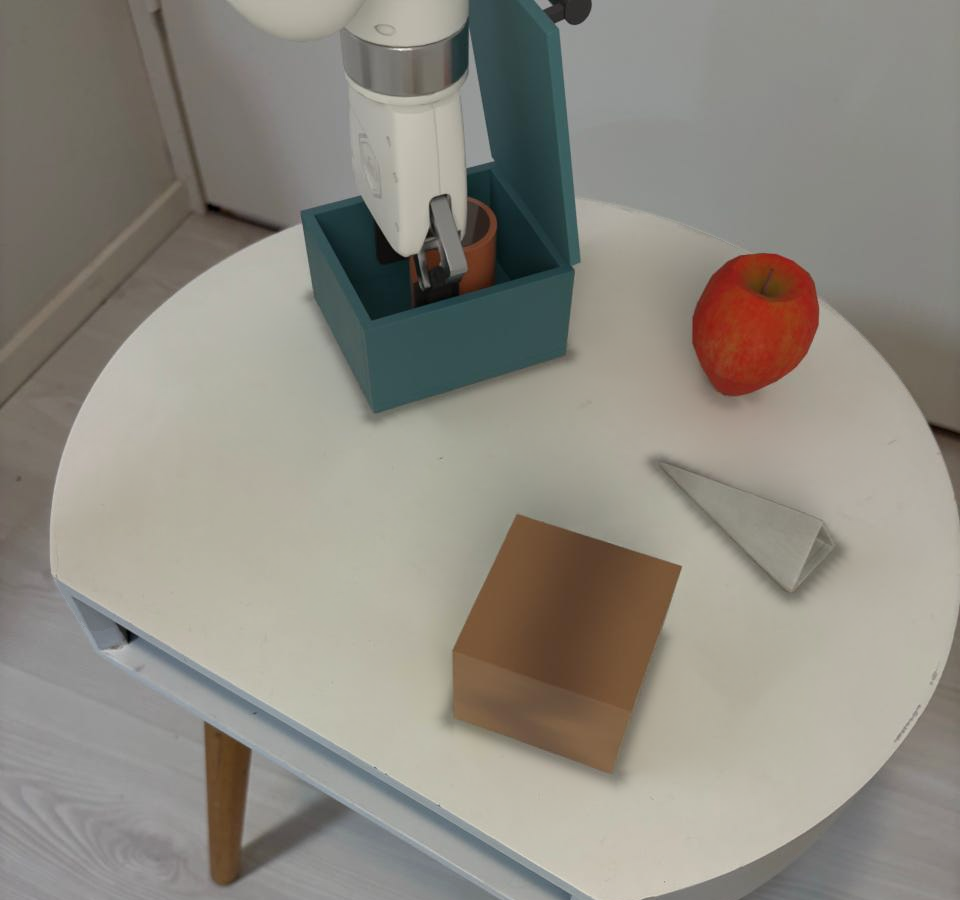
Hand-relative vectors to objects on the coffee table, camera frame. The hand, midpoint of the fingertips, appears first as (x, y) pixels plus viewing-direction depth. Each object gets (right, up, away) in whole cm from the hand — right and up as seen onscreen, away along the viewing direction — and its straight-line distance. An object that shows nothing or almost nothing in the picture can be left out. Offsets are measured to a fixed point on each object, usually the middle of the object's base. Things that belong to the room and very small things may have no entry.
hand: (417, 289), depth 74 cm
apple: (+24, -7, +1) cm, 25 cm away
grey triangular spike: (+22, -19, -6) cm, 29 cm away
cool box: (+1, -2, +4) cm, 4 cm away
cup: (+3, -1, +3) cm, 4 cm away
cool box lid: (+7, +9, -9) cm, 14 cm away
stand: (+10, -28, -12) cm, 32 cm away
